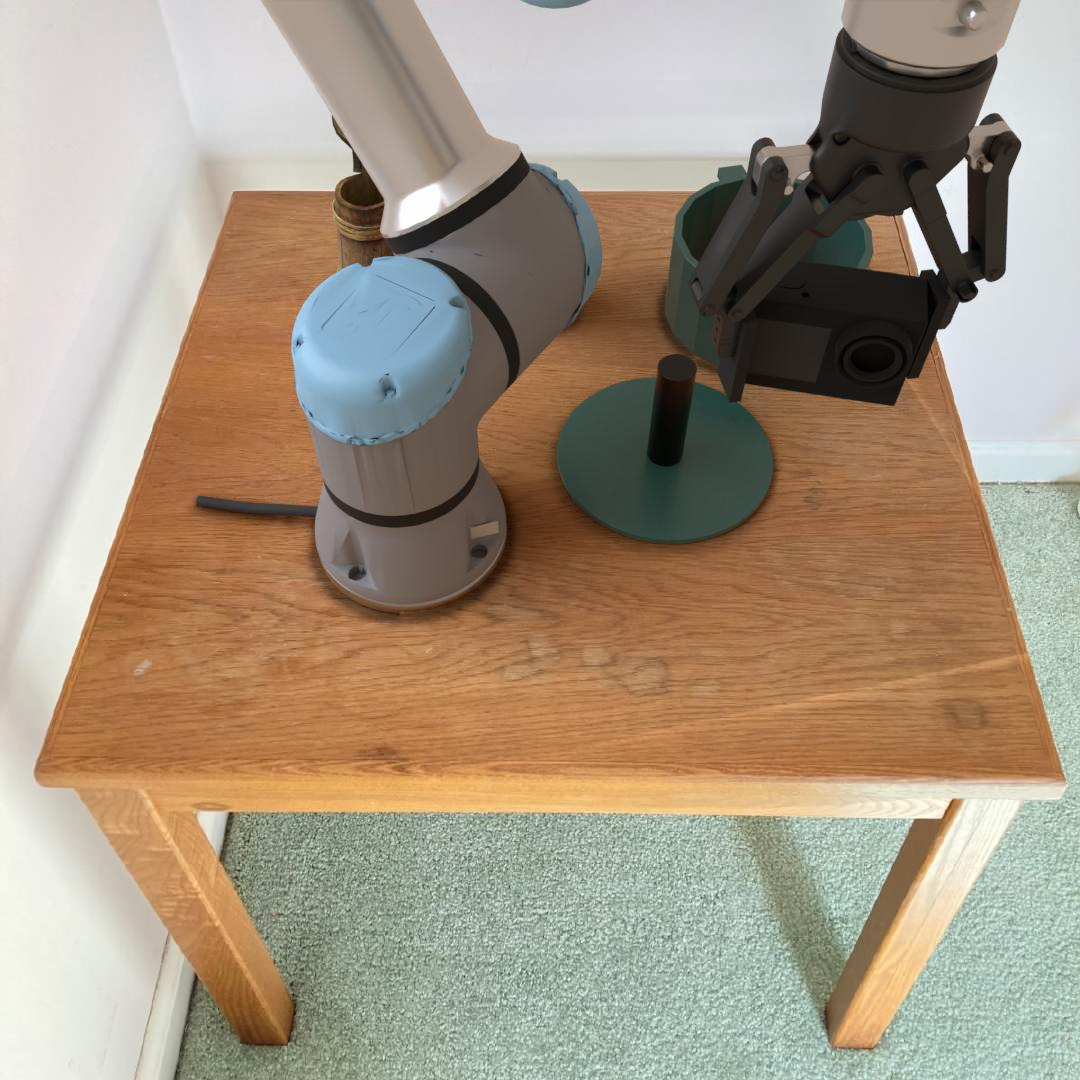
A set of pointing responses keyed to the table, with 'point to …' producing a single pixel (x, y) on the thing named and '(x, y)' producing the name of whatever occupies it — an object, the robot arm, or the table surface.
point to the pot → (699, 228)
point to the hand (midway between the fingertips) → (817, 375)
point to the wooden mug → (358, 216)
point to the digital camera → (839, 332)
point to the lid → (665, 457)
